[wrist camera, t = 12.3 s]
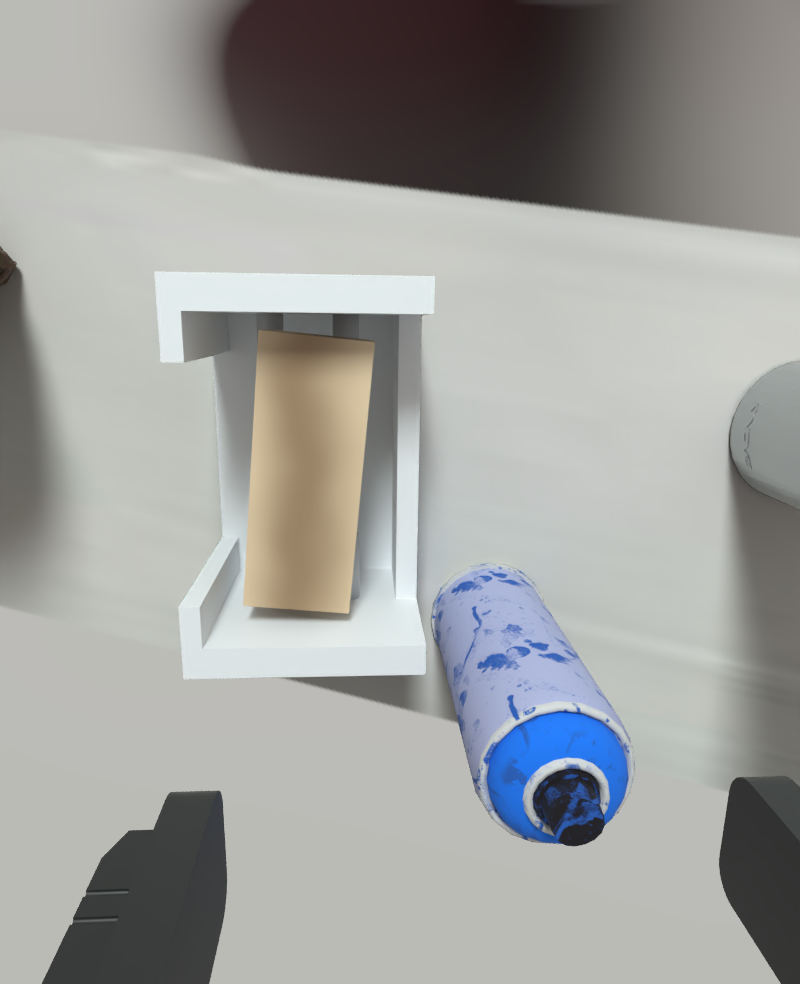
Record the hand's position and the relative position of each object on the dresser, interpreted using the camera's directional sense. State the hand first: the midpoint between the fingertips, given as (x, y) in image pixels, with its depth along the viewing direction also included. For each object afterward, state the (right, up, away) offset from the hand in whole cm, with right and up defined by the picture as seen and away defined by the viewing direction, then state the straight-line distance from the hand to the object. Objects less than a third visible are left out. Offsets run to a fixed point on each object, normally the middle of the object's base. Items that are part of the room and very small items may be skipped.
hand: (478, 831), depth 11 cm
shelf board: (-6, +7, +27) cm, 28 cm away
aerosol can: (+5, -3, +37) cm, 37 cm away
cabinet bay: (-6, +8, +33) cm, 34 cm away
